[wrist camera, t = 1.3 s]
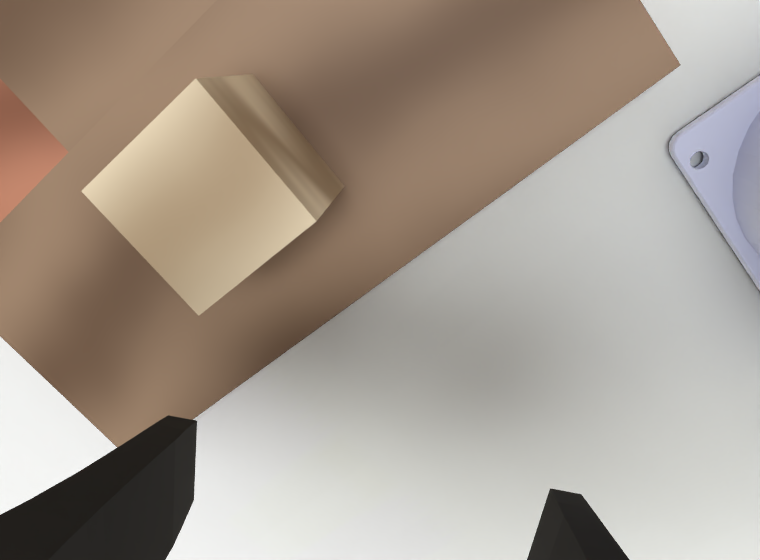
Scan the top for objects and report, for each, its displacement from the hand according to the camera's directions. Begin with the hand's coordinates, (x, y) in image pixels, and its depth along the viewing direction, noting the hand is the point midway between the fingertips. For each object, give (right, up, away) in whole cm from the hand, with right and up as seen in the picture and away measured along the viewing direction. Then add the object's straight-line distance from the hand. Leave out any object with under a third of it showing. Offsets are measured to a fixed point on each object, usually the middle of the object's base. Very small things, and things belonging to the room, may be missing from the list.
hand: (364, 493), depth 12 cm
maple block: (-4, +7, +6) cm, 10 cm away
